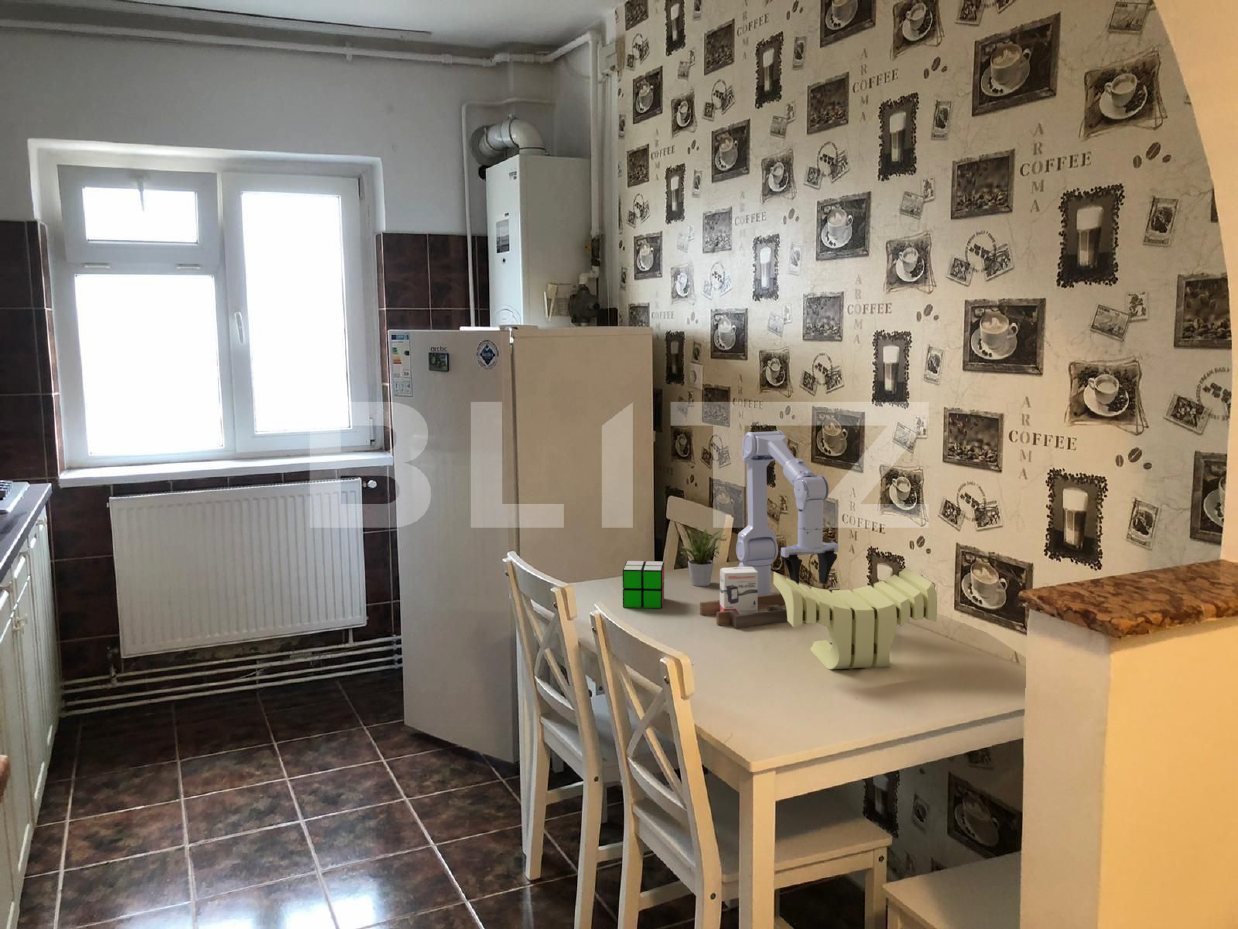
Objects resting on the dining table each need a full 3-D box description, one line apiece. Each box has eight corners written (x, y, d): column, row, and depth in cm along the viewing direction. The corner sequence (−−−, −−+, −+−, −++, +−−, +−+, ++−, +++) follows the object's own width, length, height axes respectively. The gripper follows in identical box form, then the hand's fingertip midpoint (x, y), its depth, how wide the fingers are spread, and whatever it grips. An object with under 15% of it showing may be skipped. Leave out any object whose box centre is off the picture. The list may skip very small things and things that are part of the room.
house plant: (739, 581, 274) (740, 524, 272) (717, 593, 263) (718, 533, 260) (694, 575, 282) (694, 519, 279) (670, 586, 270) (670, 527, 268)
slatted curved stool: (792, 676, 200) (793, 590, 198) (772, 650, 216) (773, 571, 214) (934, 670, 203) (937, 586, 201) (904, 645, 219) (907, 567, 217)
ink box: (723, 620, 239) (724, 572, 237) (719, 614, 244) (719, 567, 242) (758, 618, 240) (758, 571, 238) (752, 612, 245) (753, 566, 243)
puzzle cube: (664, 598, 258) (664, 561, 257) (662, 609, 248) (662, 570, 247) (626, 597, 259) (626, 560, 258) (622, 608, 249) (622, 569, 248)
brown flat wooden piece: (700, 614, 244) (700, 602, 243) (808, 601, 255) (808, 589, 254) (726, 630, 231) (726, 617, 230) (839, 615, 242) (839, 603, 241)
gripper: (792, 533, 225) (791, 591, 227) (846, 528, 230) (844, 585, 232) (776, 527, 231) (775, 584, 233) (829, 522, 236) (828, 578, 238)
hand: (809, 584), depth 233 cm, fingers open, 7 cm apart
